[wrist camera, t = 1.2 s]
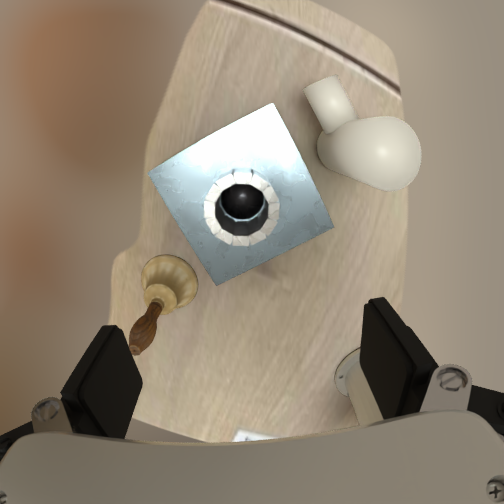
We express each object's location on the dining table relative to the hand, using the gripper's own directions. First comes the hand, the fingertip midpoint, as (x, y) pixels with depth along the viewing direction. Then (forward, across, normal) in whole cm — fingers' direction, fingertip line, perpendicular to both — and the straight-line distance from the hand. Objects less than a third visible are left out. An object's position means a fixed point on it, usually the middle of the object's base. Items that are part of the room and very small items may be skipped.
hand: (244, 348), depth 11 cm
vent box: (+29, 0, -1) cm, 29 cm away
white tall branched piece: (+29, -11, -8) cm, 32 cm away
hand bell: (+30, +12, +10) cm, 33 cm away
